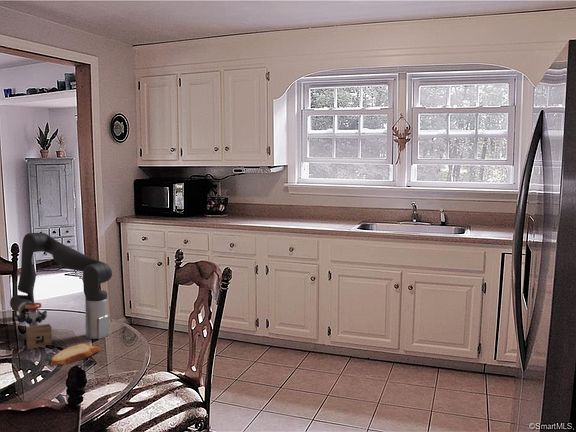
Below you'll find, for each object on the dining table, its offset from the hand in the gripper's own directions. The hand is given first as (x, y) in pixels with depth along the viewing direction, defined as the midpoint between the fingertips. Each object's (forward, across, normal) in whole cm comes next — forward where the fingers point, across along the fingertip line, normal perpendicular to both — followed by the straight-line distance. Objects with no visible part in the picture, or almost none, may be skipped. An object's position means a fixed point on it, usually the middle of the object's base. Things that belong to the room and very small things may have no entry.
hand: (34, 321), depth 227 cm
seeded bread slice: (+29, +10, +9) cm, 32 cm away
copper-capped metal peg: (+1, 0, +8) cm, 8 cm away
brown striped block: (+10, 0, +8) cm, 13 cm away
